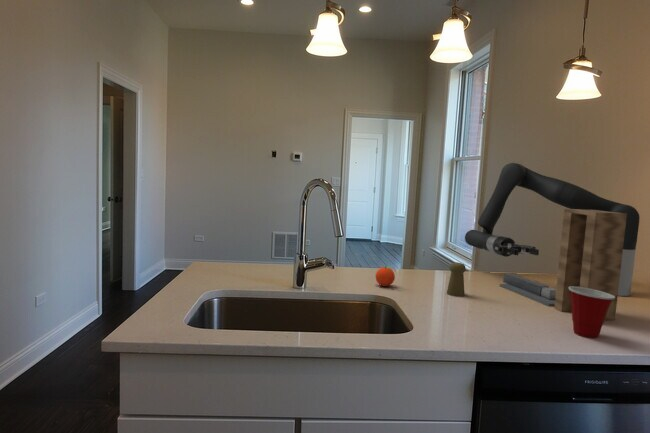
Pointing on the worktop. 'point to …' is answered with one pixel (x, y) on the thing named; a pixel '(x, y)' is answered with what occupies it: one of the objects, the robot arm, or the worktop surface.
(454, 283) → the cork
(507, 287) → the rubber mat
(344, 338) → the worktop surface
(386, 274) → the clementine
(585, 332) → the plastic cup
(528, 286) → the grey bar
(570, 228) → the walnut shelf
